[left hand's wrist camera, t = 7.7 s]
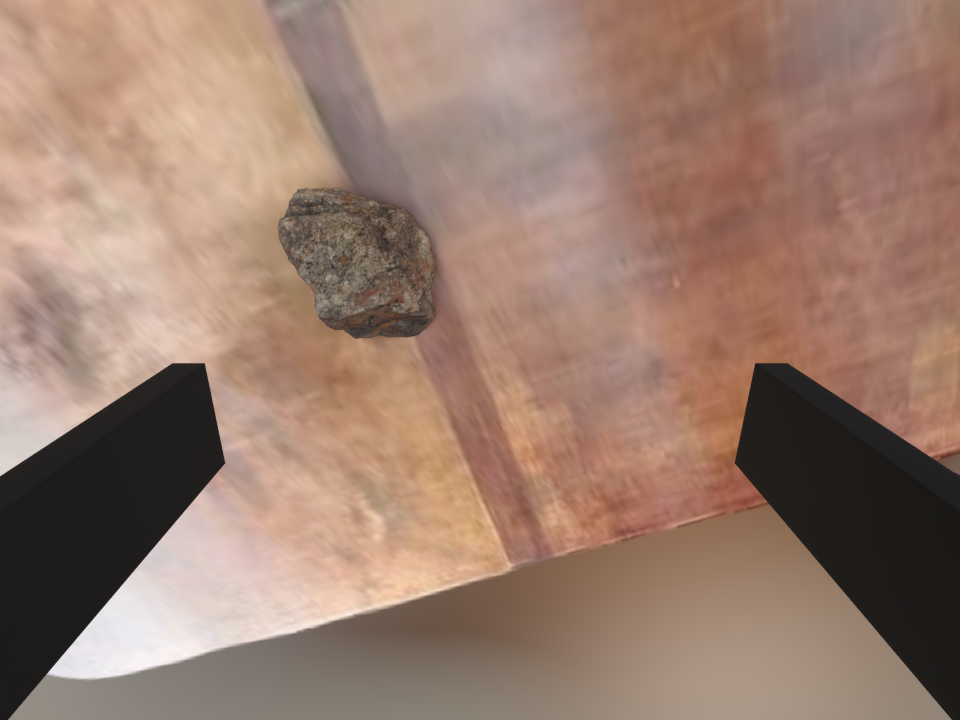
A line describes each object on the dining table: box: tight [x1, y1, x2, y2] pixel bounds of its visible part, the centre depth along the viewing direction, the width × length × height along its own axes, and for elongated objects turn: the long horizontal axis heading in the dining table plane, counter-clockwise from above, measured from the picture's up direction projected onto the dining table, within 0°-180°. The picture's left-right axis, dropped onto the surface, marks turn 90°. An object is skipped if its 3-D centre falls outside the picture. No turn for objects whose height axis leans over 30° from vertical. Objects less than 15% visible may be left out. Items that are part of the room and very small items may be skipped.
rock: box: [278, 188, 436, 339], centre depth 42 cm, size 14×9×10 cm
